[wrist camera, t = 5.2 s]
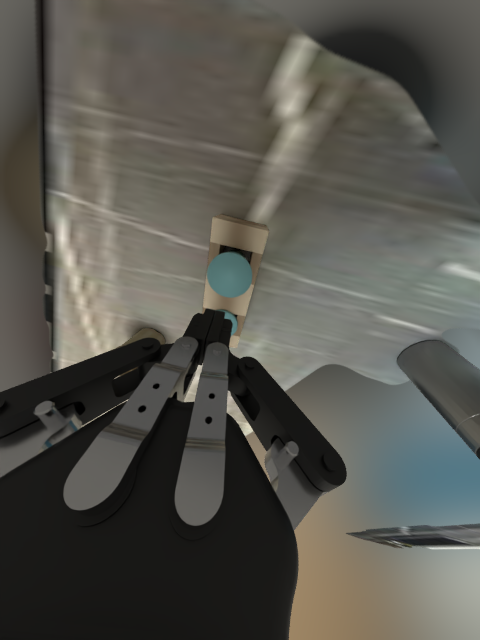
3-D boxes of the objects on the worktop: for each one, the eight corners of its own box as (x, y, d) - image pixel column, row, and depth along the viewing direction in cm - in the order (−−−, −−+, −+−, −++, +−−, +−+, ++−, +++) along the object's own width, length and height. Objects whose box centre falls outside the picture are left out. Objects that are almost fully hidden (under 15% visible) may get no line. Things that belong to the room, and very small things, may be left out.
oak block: (266, 225, 27) (269, 231, 22) (239, 328, 38) (236, 348, 33) (220, 214, 26) (212, 217, 21) (206, 321, 37) (199, 340, 32)
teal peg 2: (242, 297, 33) (240, 315, 28) (237, 319, 36) (234, 340, 31) (215, 291, 33) (207, 308, 28) (212, 313, 36) (204, 334, 31)
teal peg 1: (256, 246, 25) (257, 259, 19) (247, 281, 27) (246, 301, 22) (219, 237, 24) (209, 248, 19) (214, 273, 27) (204, 292, 22)
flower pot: (151, 357, 45) (131, 387, 38) (122, 330, 40) (94, 358, 33) (180, 346, 42) (165, 376, 35) (152, 315, 38) (128, 342, 30)
